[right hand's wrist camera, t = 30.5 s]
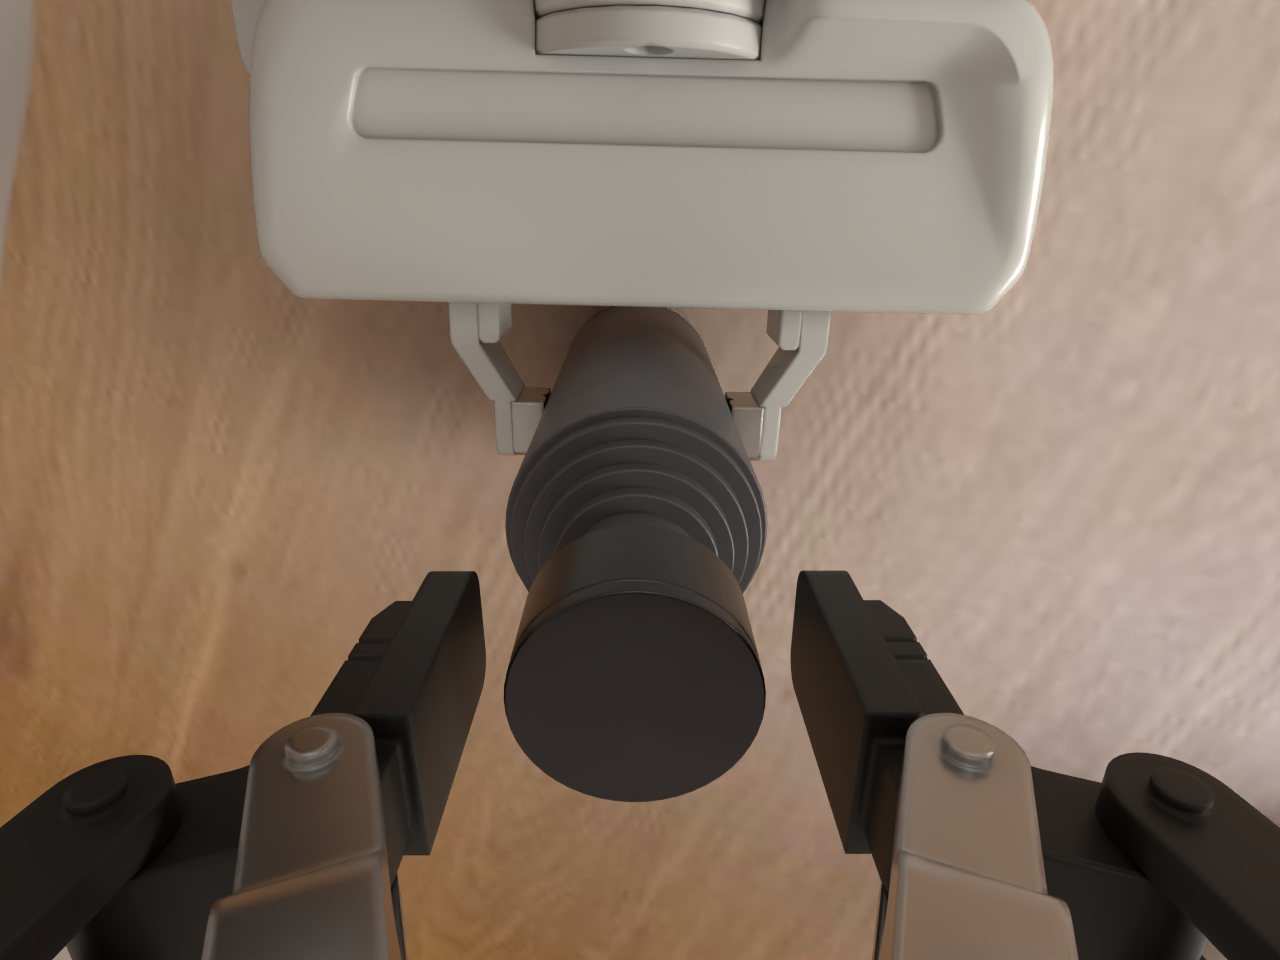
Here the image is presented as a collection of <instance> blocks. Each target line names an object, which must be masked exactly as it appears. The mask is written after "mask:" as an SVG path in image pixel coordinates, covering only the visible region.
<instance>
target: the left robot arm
mask: <svg viewBox="0 0 1280 960" xmlns="http://www.w3.org/2000/svg"><path fill="white" fill-rule="evenodd" d="M231 6H232V12H233V19H234V25H235V31H236V38H237V44H238V49H239V53H240V56H241V58H242V61H243V64H244V66H245V68H246V70H247V72H248V74H249V76H250V154H251V176H252V189H253V202H254V212H255V222H256V231H257V238H258V244H259V249H260V253H261V256H262V258H263V260H264V262H265V263H266V265H267V266H268V267H269V268H270V269H271V270H272V272H273V273H274V274H275V275H276V276H277V277H278V278H279V279H280V281H281V282H282V283H283V284H284V285H285V286H286V287H287V288H288V289H289V290H290V291H291V292H292V293H293V294H294V295H295V296H297V297H300V298H304V299H337V300H379V301H421V302H448V310H449V324H450V338H451V344H452V345H453V347H454V348H455V350H456V351H457V353H458V354H459V356H460V357H461V359H462V360H463V362H464V363H465V365H466V366H467V368H468V369H469V371H470V372H471V374H472V375H473V377H474V378H475V380H476V381H477V383H478V384H479V386H480V387H481V389H482V390H483V392H484V393H485V395H486V396H487V398H488V399H489V401H494V410H495V428H496V446H497V451H498V454H499V455H513V456H515V455H526V453H527V450H528V448H529V445H530V443H531V441H532V438H533V436H534V433H535V431H536V429H537V426H538V424H539V421H540V419H541V417H542V414H543V412H544V409H545V407H546V405H547V402H548V400H549V397H550V395H551V388H539V387H524V386H525V385H524V383H523V381H522V380H521V378H520V376H519V375H518V373H517V371H516V370H515V368H514V366H513V364H512V363H511V361H510V359H509V358H508V356H507V354H506V353H505V351H504V349H503V347H502V346H501V344H500V342H499V340H500V339H501V338H502V337H503V336H504V335H505V334H506V332H507V331H508V330H509V329H510V328H511V327H512V312H511V304H547V305H589V306H631V307H673V308H715V309H757V310H768V320H767V334H768V335H769V336H770V337H771V338H772V340H773V341H774V342H775V343H776V344H777V345H778V346H779V348H778V350H777V351H776V353H775V354H774V356H773V357H772V359H771V360H770V362H769V363H768V365H767V366H766V368H765V370H764V371H763V373H762V374H761V376H760V377H759V379H758V380H757V382H756V383H755V385H754V386H753V388H752V389H751V392H725V399H726V402H727V404H728V407H729V409H730V412H731V414H732V417H733V420H734V422H735V425H736V427H737V430H738V432H739V435H740V437H741V440H742V442H743V445H744V447H745V450H746V452H747V455H748V458H749V460H755V461H757V460H758V461H774V460H775V457H776V454H777V446H778V436H779V426H780V417H781V408H785V407H786V406H787V405H788V404H789V402H790V401H791V400H792V398H793V397H794V396H795V394H796V393H797V392H798V390H799V389H800V388H801V386H802V385H803V383H804V382H805V381H806V379H807V378H808V377H809V375H810V374H811V373H812V371H813V370H814V369H815V367H816V366H817V365H818V363H819V362H820V360H821V359H822V358H823V356H824V355H825V354H826V352H827V345H828V337H829V329H830V321H831V313H832V311H841V312H882V313H924V314H970V315H978V314H983V313H985V312H987V311H989V310H990V309H991V308H992V307H993V306H994V305H995V304H996V303H997V302H999V300H1000V299H1001V298H1002V297H1003V296H1004V295H1005V294H1006V293H1007V292H1008V291H1009V290H1010V289H1011V288H1012V287H1013V286H1014V284H1015V283H1016V282H1017V281H1018V280H1019V279H1020V277H1021V276H1022V274H1023V272H1024V269H1025V266H1026V263H1027V261H1028V257H1029V253H1030V249H1031V245H1032V240H1033V235H1034V231H1035V226H1036V221H1037V215H1038V210H1039V204H1040V199H1041V192H1042V186H1043V179H1044V173H1045V165H1046V157H1047V149H1048V141H1049V131H1050V121H1051V111H1052V98H1053V77H1054V69H1053V56H1052V49H1051V44H1050V39H1049V35H1048V32H1047V29H1046V27H1045V24H1044V22H1043V20H1042V18H1041V16H1040V15H1039V13H1038V11H1037V10H1036V8H1035V7H1034V6H1033V5H1032V4H1031V3H1030V2H1029V1H1028V0H231Z"/></svg>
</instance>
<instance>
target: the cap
mask: <svg viewBox="0 0 1280 960" xmlns="http://www.w3.org/2000/svg"><path fill="white" fill-rule="evenodd" d="M765 698H766V691H765V682H764V676H763V672H762V669H761V665H760V661H759V657H758V653H757V649H756V645H755V641H754V637H753V633H752V629H751V625H750V621H749V617H748V613H747V609H746V605H745V601H744V598H743V594H742V591H741V589H740V586H739V584H738V582H737V580H736V578H735V577H734V575H733V574H732V572H731V571H730V569H729V568H728V567H727V565H726V564H725V563H724V562H723V561H722V560H721V559H720V558H719V557H718V556H717V555H716V554H715V553H714V552H712V551H711V550H710V549H709V548H707V547H706V546H704V545H703V544H701V543H700V542H698V541H696V540H694V539H692V538H690V537H688V536H686V535H684V534H681V533H678V532H675V531H672V530H669V529H665V528H660V527H655V526H646V525H623V526H616V527H609V528H605V529H602V530H598V531H595V532H592V533H590V534H587V535H585V536H582V537H580V538H578V539H576V540H575V541H573V542H571V543H569V544H568V545H566V546H565V547H564V548H562V549H561V550H560V551H558V552H557V553H556V554H555V555H554V556H553V557H552V558H551V559H550V560H549V561H548V562H547V563H546V564H545V565H544V566H543V568H542V569H541V570H540V572H539V573H538V574H537V576H536V578H535V580H534V582H533V584H532V585H531V588H530V591H529V594H528V596H527V600H526V603H525V607H524V611H523V615H522V618H521V622H520V626H519V629H518V633H517V637H516V640H515V644H514V648H513V651H512V655H511V659H510V663H509V666H508V670H507V674H506V679H505V684H504V705H505V712H506V716H507V720H508V723H509V726H510V729H511V731H512V733H513V735H514V737H515V739H516V741H517V743H518V744H519V746H520V747H521V749H522V750H523V752H524V753H525V754H526V755H527V756H528V757H529V759H530V760H531V761H532V762H533V763H534V764H535V765H536V766H537V767H539V768H540V769H541V770H542V771H543V772H544V773H546V774H547V775H549V776H550V777H552V778H553V779H554V780H556V781H558V782H559V783H561V784H563V785H565V786H567V787H569V788H571V789H574V790H576V791H579V792H581V793H584V794H587V795H590V796H594V797H597V798H602V799H608V800H613V801H624V802H648V801H656V800H663V799H668V798H672V797H677V796H680V795H683V794H686V793H689V792H692V791H694V790H696V789H699V788H701V787H703V786H705V785H707V784H709V783H710V782H712V781H714V780H715V779H717V778H719V777H720V776H722V775H723V774H724V773H725V772H727V771H728V770H729V769H730V768H732V767H733V766H734V765H735V764H736V763H737V762H738V761H739V760H740V759H741V758H742V756H743V755H744V754H745V752H746V751H747V750H748V748H749V747H750V746H751V744H752V742H753V740H754V738H755V737H756V735H757V733H758V730H759V727H760V725H761V722H762V719H763V714H764V709H765Z"/></svg>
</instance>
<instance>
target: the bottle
mask: <svg viewBox="0 0 1280 960" xmlns="http://www.w3.org/2000/svg"><path fill="white" fill-rule="evenodd" d="M623 525H646V526H655V527H660V528H665V529H669V530H672V531H675V532H678V533H681V534H684V535H686V536H688V537H690V538H692V539H694V540H696V541H698V542H700V543H701V544H703V545H704V546H706V547H707V548H709V549H710V550H711V551H712V552H714V553H715V554H716V555H717V556H718V557H719V558H720V559H721V560H722V561H723V562H724V563H725V564H726V565H727V567H728V568H729V569H730V571H731V572H732V574H733V575H734V577H735V578H736V580H737V582H738V584H739V586H740V589H741V591H742V594H743V593H744V591H745V590H746V588H747V587H748V585H749V583H750V582H751V580H752V578H753V576H754V574H755V572H756V571H757V569H758V566H759V564H760V561H761V558H762V555H763V552H764V547H765V542H766V535H767V515H766V506H765V502H764V498H763V494H762V490H761V488H760V485H759V483H758V480H757V478H756V475H755V473H754V470H753V468H752V465H751V463H750V460H749V458H748V455H747V452H746V450H745V447H744V445H743V442H742V440H741V437H740V435H739V432H738V430H737V427H736V425H735V422H734V420H733V417H732V414H731V412H730V409H729V407H728V404H727V402H726V399H725V397H724V394H723V392H722V389H721V387H720V384H719V382H718V379H717V377H716V374H715V371H714V369H713V366H712V364H711V361H710V359H709V356H708V354H707V351H706V349H705V346H704V344H703V342H702V340H701V338H700V336H699V335H698V333H697V332H696V331H695V329H694V328H693V327H692V326H691V325H690V324H689V323H688V322H687V321H686V320H685V319H684V318H682V317H681V316H680V315H678V314H677V313H675V312H673V311H671V310H670V309H667V308H665V307H631V306H613V307H611V308H608V309H606V310H604V311H602V312H600V313H599V314H597V315H596V316H594V317H593V318H592V319H591V320H589V321H588V322H587V323H586V324H585V325H584V326H583V328H582V329H581V330H580V331H579V333H578V334H577V336H576V337H575V339H574V341H573V343H572V345H571V347H570V350H569V352H568V354H567V357H566V359H565V362H564V364H563V366H562V369H561V371H560V374H559V376H558V378H557V381H556V383H555V386H554V388H553V390H552V393H551V395H550V397H549V400H548V402H547V405H546V407H545V409H544V412H543V414H542V417H541V419H540V421H539V424H538V426H537V429H536V431H535V433H534V436H533V438H532V441H531V443H530V445H529V448H528V450H527V453H526V455H525V457H524V460H523V462H522V464H521V467H520V469H519V472H518V474H517V476H516V479H515V481H514V484H513V487H512V490H511V493H510V495H509V500H508V505H507V510H506V537H507V544H508V548H509V552H510V556H511V559H512V561H513V564H514V566H515V569H516V571H517V573H518V575H519V577H520V578H521V580H522V582H523V583H524V585H525V587H526V588H527V590H528V592H529V591H530V588H531V585H532V584H533V582H534V580H535V578H536V576H537V574H538V573H539V572H540V570H541V569H542V568H543V566H544V565H545V564H546V563H547V562H548V561H549V560H550V559H551V558H552V557H553V556H554V555H555V554H556V553H557V552H558V551H560V550H561V549H562V548H564V547H565V546H566V545H568V544H569V543H571V542H573V541H575V540H576V539H578V538H580V537H582V536H585V535H587V534H590V533H592V532H595V531H598V530H602V529H605V528H609V527H616V526H623Z"/></svg>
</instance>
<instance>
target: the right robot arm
mask: <svg viewBox="0 0 1280 960" xmlns="http://www.w3.org/2000/svg"><path fill="white" fill-rule="evenodd" d="M485 669H486V650H485V639H484V628H483V618H482V607H481V597H480V587H479V580H478V576H477V574H476V572H474V571H431V572H429V573H428V574H427V576H426V577H425V579H424V581H423V583H422V585H421V586H420V588H419V590H418V592H417V594H416V595H415V597H414V599H413V601H395V602H394V603H392V604H391V605H390V606H388V607H387V608H386V609H384V610H383V611H382V612H380V613H379V614H378V615H376V616H375V617H373V618H372V619H371V621H370V622H369V624H368V626H367V627H366V629H365V630H364V632H363V633H362V635H361V637H360V638H359V643H356V645H355V646H354V648H353V649H352V651H351V653H350V654H349V656H348V661H345V662H344V664H343V665H342V667H341V668H340V670H339V672H338V673H337V675H336V676H335V678H334V680H333V681H332V683H331V684H330V686H329V687H328V689H327V691H326V692H325V694H324V695H323V697H322V699H321V700H320V702H319V703H318V705H317V706H316V708H315V710H314V711H313V713H312V714H311V716H310V717H307V718H303V719H301V720H298V721H296V722H293V723H291V724H289V725H287V726H285V727H283V728H282V729H280V730H279V731H277V732H275V733H274V734H273V735H271V736H270V737H269V738H268V739H266V740H265V741H264V742H263V743H262V744H261V745H260V747H259V748H258V749H257V751H256V752H255V754H254V755H253V757H252V759H251V762H250V765H249V766H246V767H243V768H240V769H237V770H233V771H229V772H225V773H221V774H217V775H212V776H208V777H204V778H199V779H195V780H190V781H186V782H182V783H177V784H175V782H174V779H173V776H172V773H171V770H170V768H169V766H168V765H167V764H166V763H165V762H164V761H163V760H161V759H159V758H157V757H153V756H148V755H129V756H122V757H117V758H113V759H109V760H105V761H102V762H99V763H96V764H93V765H91V766H89V767H86V768H84V769H82V770H80V771H78V772H76V773H74V774H72V775H70V776H68V777H67V778H65V779H63V780H62V781H60V782H58V783H57V784H56V785H54V786H53V787H51V788H50V789H49V790H47V791H46V792H45V793H44V794H42V795H41V796H40V797H38V798H37V799H36V800H35V801H33V802H32V803H31V804H30V805H28V806H27V807H26V808H25V809H23V810H22V811H21V812H20V813H18V814H17V815H16V816H15V817H13V818H12V819H11V820H10V821H8V822H7V823H6V824H5V825H3V826H2V827H1V828H0V960H52V959H53V958H54V957H55V956H56V955H57V954H58V953H59V952H60V951H61V950H62V949H63V948H64V947H65V946H66V947H67V949H68V951H69V954H70V956H71V958H72V960H408V954H407V945H406V935H405V926H404V917H403V907H402V898H401V891H400V885H399V880H398V874H397V871H398V868H399V865H400V863H401V860H402V857H403V855H430V853H431V850H432V846H433V843H434V840H435V837H436V834H437V831H438V827H439V824H440V821H441V818H442V815H443V812H444V809H445V805H446V802H447V799H448V796H449V793H450V790H451V787H452V783H453V780H454V777H455V774H456V771H457V768H458V765H459V761H460V758H461V755H462V752H463V749H464V746H465V742H466V739H467V736H468V733H469V730H470V727H471V724H472V720H473V717H474V714H475V711H476V708H477V705H478V702H479V698H480V695H481V692H482V689H483V684H484V678H485ZM791 674H792V681H793V686H794V690H795V693H796V696H797V700H798V703H799V706H800V709H801V713H802V716H803V719H804V722H805V725H806V729H807V732H808V735H809V738H810V741H811V745H812V748H813V751H814V754H815V758H816V761H817V764H818V767H819V770H820V774H821V777H822V780H823V783H824V786H825V790H826V793H827V796H828V799H829V803H830V806H831V809H832V812H833V815H834V819H835V822H836V825H837V828H838V831H839V835H840V838H841V841H842V844H843V848H844V851H845V854H872V856H873V859H874V862H875V865H876V867H877V870H878V873H879V876H880V879H881V885H880V891H879V898H878V907H877V917H876V926H875V935H874V944H873V954H872V960H1206V959H1205V958H1204V957H1203V956H1202V953H1203V951H1204V948H1205V946H1206V944H1207V941H1208V940H1209V941H1210V942H1211V943H1212V944H1213V945H1214V946H1215V947H1216V948H1217V949H1218V950H1219V951H1220V952H1221V953H1222V954H1223V955H1224V956H1225V957H1226V958H1227V959H1228V960H1280V828H1279V827H1278V826H1277V825H1275V824H1274V823H1273V822H1272V821H1270V820H1269V819H1268V818H1267V817H1265V816H1264V815H1263V814H1262V813H1260V812H1259V811H1258V810H1257V809H1255V808H1254V807H1253V806H1252V805H1250V804H1249V803H1248V802H1247V801H1245V800H1244V799H1243V798H1242V797H1240V796H1239V795H1238V794H1236V793H1235V792H1234V791H1233V790H1231V789H1230V788H1229V787H1228V786H1226V785H1225V784H1223V783H1222V782H1221V781H1219V780H1218V779H1216V778H1214V777H1213V776H1211V775H1209V774H1208V773H1206V772H1204V771H1202V770H1200V769H1198V768H1196V767H1194V766H1192V765H1189V764H1187V763H1184V762H1182V761H1179V760H1176V759H1173V758H1170V757H1166V756H1162V755H1157V754H1150V753H1127V754H1123V755H1120V756H1118V757H1116V758H1114V759H1113V760H1112V761H1111V762H1110V763H1109V764H1108V766H1107V768H1106V772H1105V775H1104V778H1103V781H1102V783H1099V782H1095V781H1090V780H1086V779H1081V778H1077V777H1073V776H1068V775H1064V774H1059V773H1055V772H1051V771H1046V770H1043V769H1039V768H1035V767H1032V766H1030V762H1029V759H1028V757H1027V755H1026V754H1025V752H1024V751H1023V749H1022V748H1021V747H1020V745H1019V744H1018V743H1017V742H1016V741H1015V740H1014V739H1012V738H1011V737H1010V736H1009V735H1007V734H1006V733H1005V732H1003V731H1001V730H1000V729H998V728H997V727H995V726H993V725H991V724H989V723H987V722H984V721H982V720H979V719H977V718H973V717H970V716H966V715H964V714H963V712H962V710H961V709H960V707H959V706H958V704H957V702H956V701H955V699H954V698H953V696H952V694H951V693H950V691H949V690H948V688H947V686H946V685H945V683H944V682H943V680H942V678H941V677H940V675H939V673H938V672H937V670H936V669H935V667H934V665H933V664H932V662H931V661H930V660H928V659H927V654H926V653H925V651H924V649H923V648H922V646H921V645H920V643H919V642H917V638H916V636H915V635H914V633H913V632H912V630H911V628H910V627H909V625H908V624H907V622H906V620H905V619H904V618H903V617H902V616H901V615H899V614H898V613H897V612H895V611H894V610H893V609H891V608H890V607H889V606H887V605H886V604H885V603H883V602H882V601H881V600H863V599H862V597H861V595H860V593H859V591H858V589H857V588H856V586H855V584H854V582H853V580H852V578H851V577H850V575H849V573H848V572H847V571H801V572H800V574H799V576H798V581H797V589H796V600H795V611H794V622H793V632H792V643H791Z"/></svg>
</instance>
